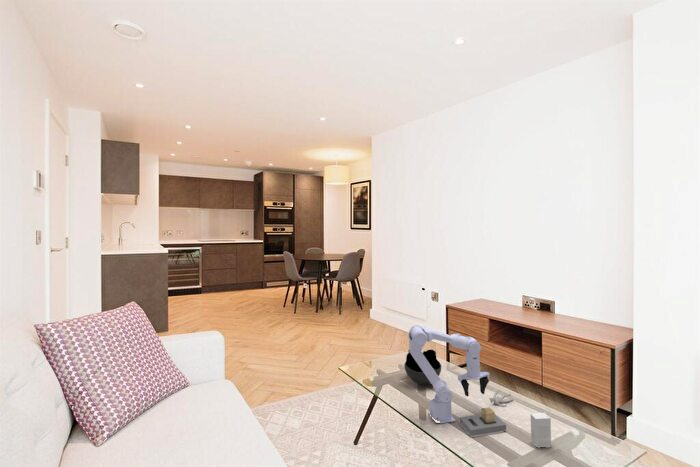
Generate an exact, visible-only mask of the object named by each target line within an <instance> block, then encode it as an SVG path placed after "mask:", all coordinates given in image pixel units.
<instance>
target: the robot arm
mask: <svg viewBox="0 0 700 467" xmlns="http://www.w3.org/2000/svg"><path fill="white" fill-rule="evenodd" d="M407 336H408V350H409V351H410V353H411V355H412V356H413V358H414V359H415V361H416V362H417V364H418V365H419V366H420V368H421V369H422V371H423V372H424V374H425V375H426V377H427V378H428V379H429V381H430V382H431V383H430V384H431V385H432V387H433V390H434V392H435V395H434V398H433V399H431V400H429V402H428V404H429V405H428V406H429V407H428V408H429V414H430V415H431V417H433V418H434V419H435V420H437V421H440V424H445V423H453V422H456V419H455V418H454V417H453V416H452V412H453V411H452V399H453V392H452V391H451V390H450V388H449V387H448V384H447V383H446V382H445V381H444V380H442V379H441V378H440V375H439V376H438V375H437V374H436V372H435V371H434V369H433V368H432V366H431V365H430V363H429V362H428V361H427V359H426V358H425V356H424V355H423V348H424V347H425V345H426V344H427V342H428V343H430V342H432V340H436V341H440V342H444V343H449V346H450V347H452V348H456V349H460V350H463V351H465V352H466V373H463V374H459V375H457V380H458V382H460V384H461V385H462V388H463V392H464V395H465V397H469V394H470V393H469V385H470V383H469V382H468V381H469V380H475V381H479V390H480V393H481V394H482V395H485V391H486V388H487V385H488V384H489V382H490V379H489V378H490V377H491V374H490V372H488V371H481V361H480V360H481V359H480V358H481V357H480V352H481V351H482V346H481V344H480V343H479V342H478V341H477V339H476V338H474V337H472V336H463V335H461V334H460V333H453V334H450V335H449V334H447V333H444V332H441V331H438V330H435V329H432V328H429V327H426V326H420V325H419V324H418V325H413V326H411V327H410V329H409V331H408V334H407ZM409 351H408V352H409ZM431 417H430V418H431Z"/></svg>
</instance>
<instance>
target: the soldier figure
mask: <svg viewBox="0 0 700 467" xmlns="http://www.w3.org/2000/svg"><path fill="white" fill-rule="evenodd" d="M500 391H501V390H500V389H498V390H496V392H495V393H494V394H493V396H492V398H491V397H489V398H488V399H489V401H490V403H491V404H492V403H493V402H494V404H495V405H498V407H505V408H506V407H508V405H507V404H506V403H509V402H513V401H514V399H513V398H510V399H505V398H507V397H510V396H512V394H511V393H508V394H505V393H504V394H502V395H501V396H498V394H499V393H500Z"/></svg>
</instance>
